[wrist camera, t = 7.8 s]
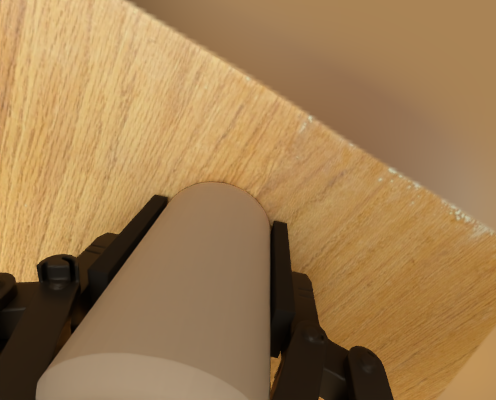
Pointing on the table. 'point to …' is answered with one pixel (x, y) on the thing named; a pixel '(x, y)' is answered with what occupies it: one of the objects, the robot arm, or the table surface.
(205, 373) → the beverage can
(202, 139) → the table surface
